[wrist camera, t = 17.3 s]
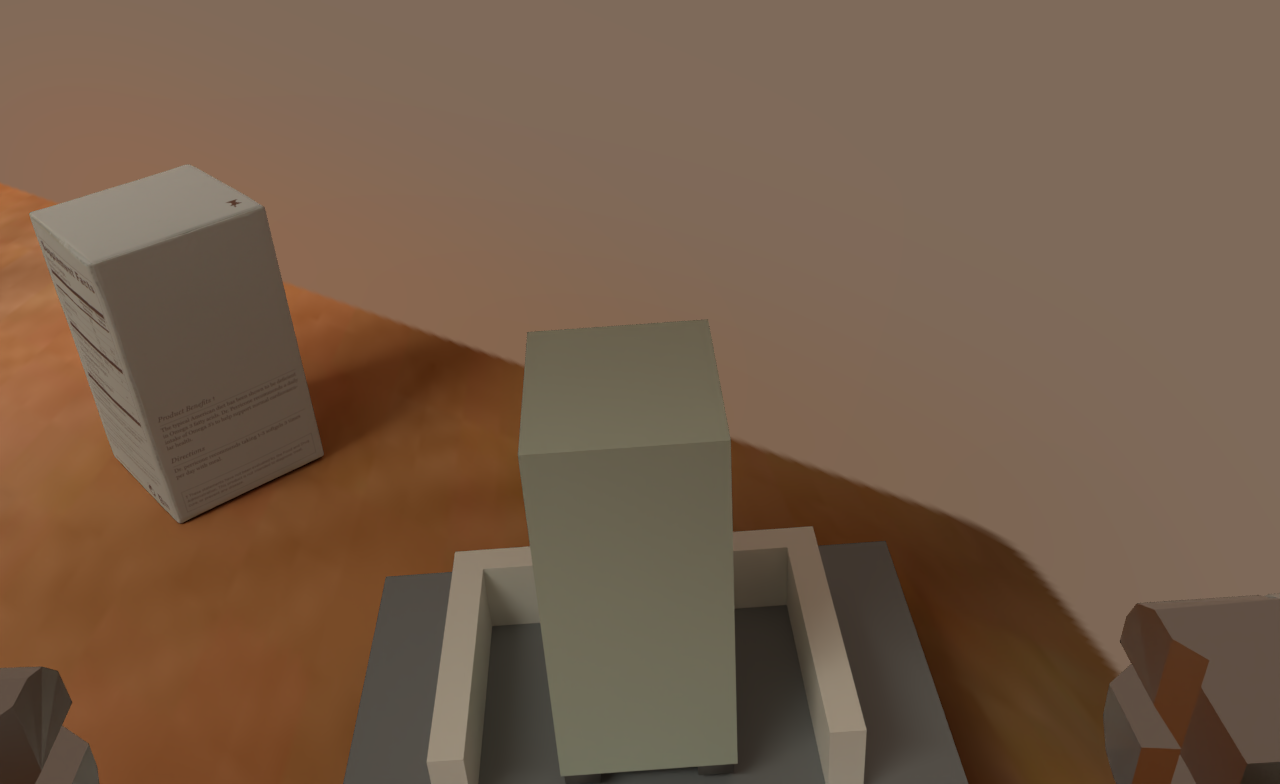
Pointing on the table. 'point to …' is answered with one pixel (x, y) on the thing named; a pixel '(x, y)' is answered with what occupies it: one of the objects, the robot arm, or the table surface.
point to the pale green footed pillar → (632, 546)
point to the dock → (764, 656)
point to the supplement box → (183, 335)
